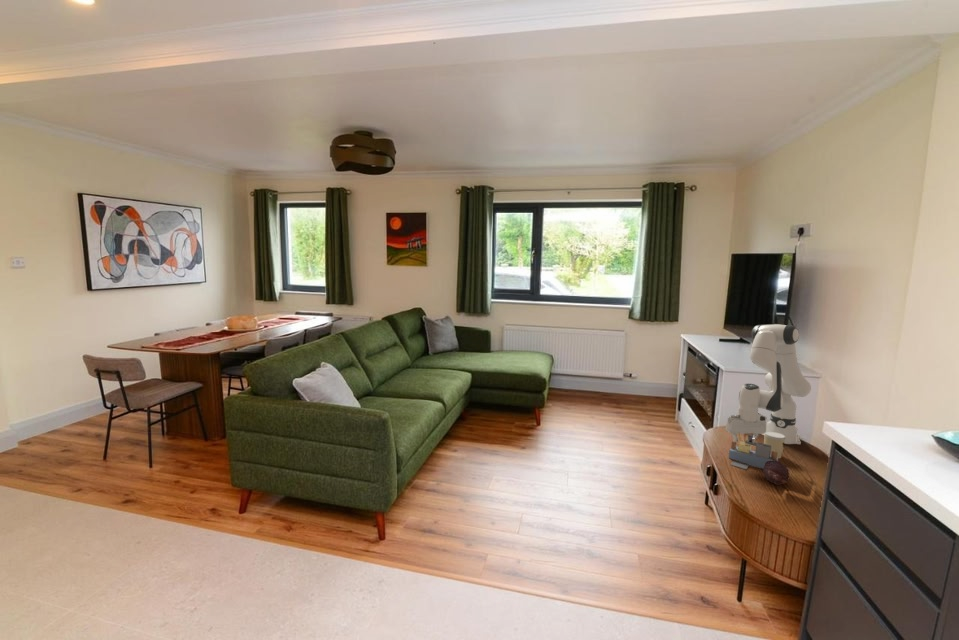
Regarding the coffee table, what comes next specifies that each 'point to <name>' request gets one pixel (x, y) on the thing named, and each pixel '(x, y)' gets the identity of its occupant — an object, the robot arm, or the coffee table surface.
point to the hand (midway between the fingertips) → (744, 441)
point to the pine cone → (776, 472)
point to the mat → (739, 465)
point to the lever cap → (744, 447)
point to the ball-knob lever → (750, 439)
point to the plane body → (753, 455)
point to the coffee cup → (775, 442)
